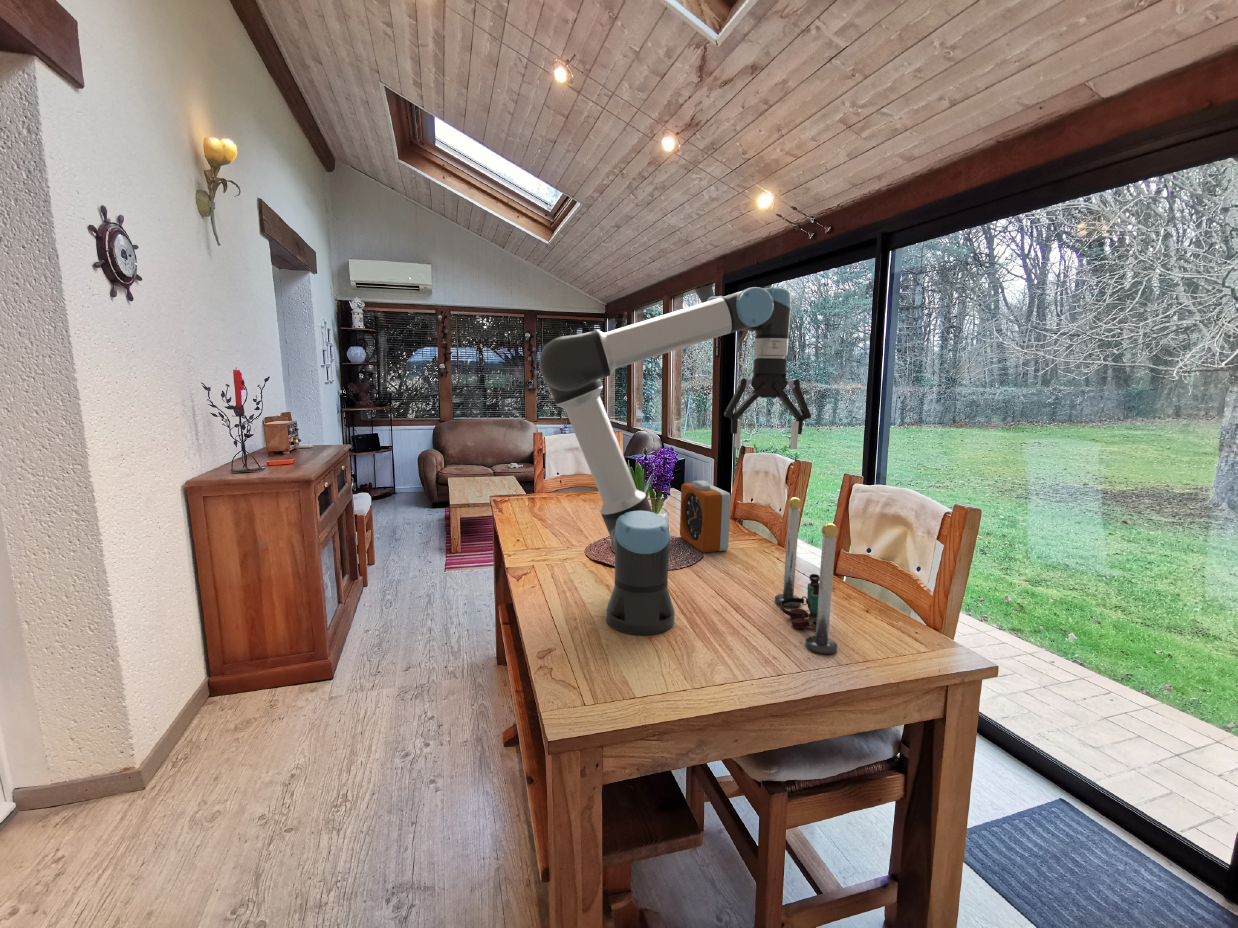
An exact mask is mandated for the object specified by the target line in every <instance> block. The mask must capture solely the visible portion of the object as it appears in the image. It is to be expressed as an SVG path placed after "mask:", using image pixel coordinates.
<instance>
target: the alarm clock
mask: <svg viewBox="0 0 1238 928" xmlns="http://www.w3.org/2000/svg"><path fill="white" fill-rule="evenodd" d="M680 489H681V490H680V511H679V513H680V515H679V519H680V520H679V521H680V522H679V536H680V538H681V539H682V540H684V541H685V542H687V543H689V544H690V545H691V546H692V547H694V548H695V549H697V550H698V551H700V552H701V553H713V552H721V551H722V552H723V551H724V552H725V551H728V549H729V543H730V541H729V539H730V538H729V537H730V524H731V522H730V518H731V503H732V502H731V500H732V497H731V494H730V492H728V491H726V490H723V489H721V488H719V487H717V486H714V485H712V484H710V483H709V482H708V481H707V480H693V481H692V482H685V483H682V484H681V486H680Z"/></svg>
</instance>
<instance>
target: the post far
mask: <svg viewBox="0 0 1238 928" xmlns="http://www.w3.org/2000/svg"><path fill="white" fill-rule="evenodd" d="M787 506H788V513H787V514H788V517H787V532H786V547H785V558H784V559H785V562H784V563H785V564H784V573H783V575H784V576H783V588H782V591H783V592H782V593H780V594H777V595H775V597H774V603H775V604H776V605H777V606H779V607H781V601H783V600H784V599H787V598H800V597H799V596H797V595H794V592H795V579H796V568H797V567H796V564H797V551H798V550H797V549H798V540H799V539H798V535H799V524H800V523H799V522H800V509H801V506H802V501H801V499H800V498H799V497H797V496H796V497H795V496H794V497H793V496H792V497H791V498H789V500H788V501H787ZM801 605H802V603H798V602H789V603H785V604H784V605H782V607H783V608H785V609H798V608H800V607H801Z"/></svg>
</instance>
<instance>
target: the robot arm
mask: <svg viewBox="0 0 1238 928" xmlns="http://www.w3.org/2000/svg"><path fill="white" fill-rule="evenodd" d="M791 297H792V295H791V292H790V290H789V289H787V288H783V287H766V288H765V287H764V288H762V287H757V286H754V287H753V286H752V287H748V288H745V289H743V290H741V291H737V292H734V293H732V294H728V295H725V296H723V295H719V296H709V298H708V299H707V300H706V301H705V302H701V303H698V304H694V305H692V306H689V307H686V308H682V309H677V310H676V311H675V310H674V311H672V312H668V313H666V314H661V315H659V316H655V317H651V318H649V319H648V318H647V319H646V320H642V321H638V322H635V323H632V324H628V325H626V326H625V325H624V326H622V327H619V328H615V329H612V330H609V331H605V332H603V331H601V330H600V329H594V330H591V331H589V332H588V331H587V332H584V333H583V332H582V333H579V334H572V335H562V336H558V337H555V338H553V339H552V340H551V341H548V343H547V344H546V345H545V346H544V347H543V349H542V351H541V353H540V357H539V364H538V365H539V371H540V372H541V376H542V378H543V379H544V380H545V382H546V384H547V386H548V388H549V389H548V390H549V391H550V394H551V396H552V399H553V400H554V403H555V405H556V406H557V407H560V408H561V409H564V410H565V412H566V415H567V417H568V420H569V423H570V425H571V428H572V430H573V432H574V434H575V437H576V439H577V442H578V444H579V447H580V449H581V452H582V454H583V456H584V459H585V461H586V463H587V466H588V469H589V471H590V473H591V476H592V478H593V480H594V483H595V486H596V489H597V491H598V492H599V495H600V497H601V501H602V505H601V508H600V510H599V512H600V514H601V517H602V519H603V522H604V525H605V527H606V529H607V531H608V535H609V537H610V539H611V543H612V547H613V550H614V585H613V586H614V587H613V589H612V592H611V595H610V598H609V601H608V603H607V607H606V609H605V610H606V611H605V612H606V613H605V614H606V617H605V619H606V623H607V624H608V625H609V627H611V628H612V629H614V630H616V631H618V632H621V633H623V634H624V633H625V634H628V635H634V636H635V635H638V636H647V635H656V634H660V633H664V632H665V631H667V630H669V629H671V628H672V627H673V626H674V624H675V617H676V615H675V614H676V613H675V608H674V606H673V605H674V604H673V602H672V598H671V596H670V592H669V589H668V587H669V586H668V583H669V582H668V579H669V578H668V576H669V552H670V551H669V550H670V547H669V546H670V538H671V534H670V533H671V532H670V525H669V522H668V520H667V518H665V517H664V516H663V515H661V514H658V513H656V512H653V510H652V507H651V505H650V502H649V499H648V497H647V495H646V492H644V491H642V490H640V489H637V487H636V484H635V482H634V479H633V477H632V474H631V472H630V471H631V470H630V468H629V466H628V463H627V461H626V458H625V456H624V454H623V451H622V448H621V446H620V443H619V441H618V439H617V436H616V433H615V431H614V429H613V425H612V423H611V421H610V418H609V416H608V413H607V410H606V408H605V406H604V403H603V400H602V398H601V393H602V390H603V387H604V386H603V382H602V380H601V379H603V378H606V377H607V378H608V377H610V376H612V375H613V373H614V371H615V370H616V369H619V368H622V367H625V366H628V365H631V364H632V365H633V364H635V363H638V362H641V361H644V360H647V359H651V358H654V357H658V356H660V355H664V354H667V353H671V352H674V351H677V350H680V349H684V348H686V347H690V346H693V345H696V344H699V343H703V342H707V341H710V340H712V339H716V338H718V337H722V336H724V335H725V336H726V335H729V334H733V333H736V332H740V331H741V332H742V331H743V332H747V331H748V332H754V333H755V337H754V353H753V354H754V355H753V356H755V357H756V358H754V360H753V371H752V373H753V374H752V378H751V379H748V378H744V377H740V378H739V379H738V385H737V388H736V391H735V392H734V394H733V396H732V397H731V400H730V401H729V403H728V405H727V407H726V409H725V410H724V412H723V415H724V417H726V418H728V419H730V420H731V421H730V433H731V434H734V442H733V444H734V445H733V447H734V448H736V449H740V448H741V433H742V432H741V431H742V420H740V419H739V418H740V417H742V415H744V413H745V412H746V411H747V409H749V408H750V407H751V405H752V404H753V403H754V402H755V401H756V400H757V399H758V398H761V399H762V398H763V399H765V398H766V399H767V398H771V399H776V398H778V399H779V400H780V401H781V402H782V403H783V405H784V406H785V407H786V408H787V410H788V411H789V412H790V414H791V415H792V416H793V418H794V419H795V420H791V431H790V444H789V445H790V446H789V448H791V449H792V450H797V449H798V437H799V435H802V433H803V423H804V421H805V420H808V419H809V420H810V419H811V417H812V413H811V411H810V409H809V406H808V404H807V402H806V400H805V397H804V395H803V392H802V390H801V382H800V379H799V378H793V379H787V369H788V360H787V358H786V357H787V356H788V351H789V350H788V349H789V337H790V336H789V335H790V334H789V333H790V331H789V330H790V321H791V312H792V298H791ZM749 386H751V387H752V388H753V391H751V392H750V394H749V395H748V397H747V398H746V399H745V400H744V401H743V402H742V403H741V404H740V405H739V406H738V403H739V402H740V399H741V398H742V396H743V394H744V392H745V390H746V389H748V388H749ZM787 386H788V387H789V388H790V389H791V390H792V394H793V396H794V398H795V401H796V403H797V405H798V408H799V410H800V411H799V410H798V408H797V407H796V405H794V403H793V402H792V401H791V399H790V398H789V397H788V394H787V393H786V392H785V391H784V390H785V389H786V388H787ZM737 406H738V408H736V407H737ZM735 408H736V410H735Z"/></svg>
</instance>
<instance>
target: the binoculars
mask: <svg viewBox="0 0 1238 928" xmlns="http://www.w3.org/2000/svg"><path fill="white" fill-rule="evenodd" d="M809 581H810V582H809V583H808V584H807V594H806V595H807V597H806V596H803V595H802V597H801V598H800V597H799V598H787V599H784V600H783V601H781V606H780V608H781V611H782V612H783V614H785V615H787V616H788V617H790V619H791V627H792V628H795V629H803V628H808V627H811V628H813V629H814V630H816V622H817V608H818V595H819V581H820V574H816V573H812V574H810V575H809ZM789 602H798V603H801V605H802V606H807V610H805V609H802V608H791V610H787V608H785V607H782V605H784V604H785V603H789ZM809 620H811V623H810V622H809Z"/></svg>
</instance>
